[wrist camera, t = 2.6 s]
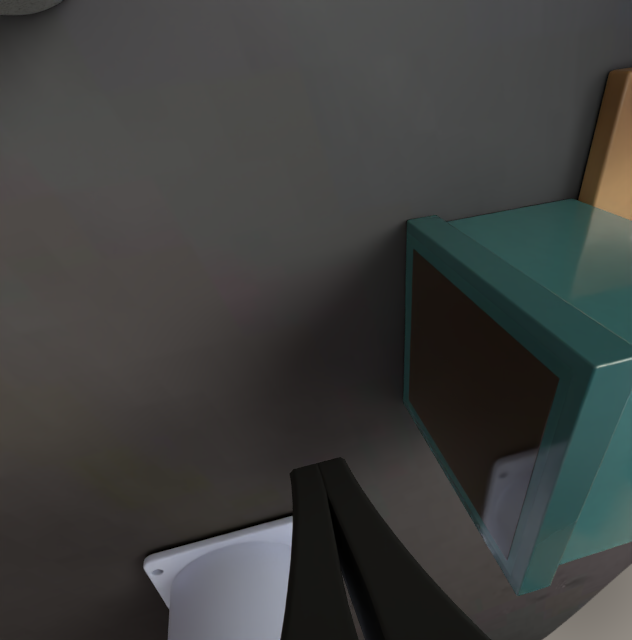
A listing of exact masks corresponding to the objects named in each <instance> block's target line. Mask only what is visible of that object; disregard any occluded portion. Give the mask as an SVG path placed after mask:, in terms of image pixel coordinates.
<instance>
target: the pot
mask: <svg viewBox="0 0 632 640" xmlns="http://www.w3.org/2000/svg"><path fill="white" fill-rule="evenodd" d="M403 403H404V405H405V407H406V408H407V410H408V412H409V413H410V415H411V417H412V419H413V420H414V422H415V424H416V425H417V427H418V429H419V430H420V432H421V434H422V436H423V437H424V439H425V441H426V442H427V444H428V446H429V447H430V449H431V451H432V453H433V454H434V456H435V458H436V459H437V461H438V463H439V464H440V466H441V468H442V470H443V471H444V473H445V475H446V476H447V478H448V480H449V481H450V483H451V485H452V487H453V488H454V490H455V492H456V493H457V495H458V497H459V498H460V500H461V502H462V504H463V505H464V507H465V509H466V510H467V512H468V514H469V515H470V517H471V519H472V521H473V522H474V524H475V526H476V527H477V529H478V531H479V532H480V534H481V536H482V537H483V539H484V541H485V543H486V544H487V546H488V548H489V549H490V551H491V553H492V554H493V556H494V558H495V560H496V561H497V563H498V565H499V566H500V568H501V570H502V571H503V573H504V575H505V577H506V578H507V580H508V582H509V583H510V585H511V587H512V588H513V590H514V592H515V594H516V595H517V596H520V595H523V594H526V593H529V592H532V591H535V590H538V589H541V588H544V587H547V586H550V584H551V582H552V580H553V577H554V575H555V573H556V570H557V568H558V565H560V564H564V563H567V562H570V561H573V560H576V559H579V558H582V557H585V556H588V555H592V554H595V553H598V552H601V551H604V550H607V549H610V548H613V547H617V546H620V545H623V544H626V543H629V542H632V220H629V219H626V218H624V217H621V216H618V215H616V214H613V213H610V212H608V211H605V210H602V209H600V208H597V207H594V206H592V205H589V204H586V203H584V202H581V201H578V200H576V199H573V198H572V199H566V200H561V201H556V202H550V203H545V204H539V205H534V206H529V207H523V208H518V209H513V210H507V211H502V212H496V213H491V214H486V215H480V216H475V217H469V218H464V219H459V220H453V221H448V222H446V221H444V220H443V219H441V218H440V217H438V216H437V215H433V216H428V217H422V218H417V219H411V220H407V241H406V290H405V338H404V387H403Z"/></svg>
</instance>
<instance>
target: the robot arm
mask: <svg viewBox="0 0 632 640" xmlns="http://www.w3.org/2000/svg"><path fill="white" fill-rule="evenodd" d="M290 478H291V485H292V499H293V516H289V517H285V518H282V519H278V520H274V521H271V522H267V523H263V524H260V525H256V526H253V527H249V528H245V529H242V530H238V531H234V532H231V533H227V534H223V535H220V536H216V537H212V538H209V539H205V540H202V541H198V542H194V543H191V544H187V545H183V546H180V547H176V548H172V549H169V550H165V551H162V552H158V553H154V554H151V555H149V556H147V557H146V558H145V560H144V565H143V568H144V570H145V572H146V573H147V575H148V577H149V578H150V580H151V581H152V583H153V585H154V586H155V588H156V589H157V591H158V592H159V594H160V596H161V597H162V599H163V600H164V602H165V604H166V605H167V607H168V608H169V627H168V640H358V636H357V633H356V629H355V626H354V622H353V619H352V615H351V612H350V608H349V605H348V601H347V596H346V592H345V588H344V583H343V578H344V581H345V584H346V586H347V589H348V592H349V595H350V598H351V601H352V604H353V606H354V609H355V612H356V615H357V618H358V621H359V623H360V626H361V629H362V632H363V635H364V638H365V640H491V639H490V638H489V637H488V636H487V635H486V634H484V633H483V632H482V631H481V630H480V629H479V628H478V627H477V626H476V625H475V624H474V622H473V621H472V620H471V619H470V618H469V617H468V616H467V615H466V614H465V613H464V612H463V611H462V610H461V609H460V608H459V607H458V606H457V605H456V604H455V603H454V602H453V601H452V600H451V599H450V598H449V597H448V596H447V595H446V594H445V593H444V591H443V590H442V589H441V588H440V587H439V586H438V585H437V584H436V583H435V582H434V580H433V579H432V578H431V577H430V576H429V575H428V574H427V573H426V571H425V570H424V569H423V568H422V567H421V566H420V564H419V563H418V562H417V561H416V560H415V559H414V557H413V556H412V555H411V554H410V553H409V551H408V550H407V549H406V548H405V547H404V545H403V544H402V543H401V542H400V540H399V539H398V538H397V537H396V535H395V534H394V533H393V531H392V530H391V529H390V527H389V526H388V525H387V523H386V522H385V521H384V520H383V518H382V517H381V516H380V514H379V513H378V511H377V510H376V509H375V507H374V506H373V504H372V503H371V502H370V500H369V499H368V497H367V496H366V494H365V493H364V491H363V490H362V488H361V487H360V485H359V484H358V482H357V480H356V479H355V477H354V475H353V474H352V472H351V470H350V468H349V467H348V465H347V463H346V461H345V459H343V458H341V457H339V458H335V459H331V460H328V461H324V462H320V463H316V464H312V465H308V466H304V467H301V468H297V469H293V470H292V472H291V473H290ZM341 572H342V573H341ZM342 575H343V578H342Z"/></svg>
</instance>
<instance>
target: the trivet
mask: <svg viewBox="0 0 632 640" xmlns="http://www.w3.org/2000/svg"><path fill="white" fill-rule="evenodd" d="M578 201H581V202H584V203H586V204H589V205H592V206H594V207H597V208H600V209H602V210H605V211H608V212H610V213H613V214H616V215H618V216H621V217H624V218H626V219H629V220H632V67H631V68H624V69H617V70H613V71H611V72H610V73H609V76H608V80H607V84H606V88H605V92H604V96H603V100H602V104H601V108H600V112H599V116H598V121H597V125H596V129H595V133H594V137H593V141H592V145H591V149H590V153H589V157H588V162H587V166H586V170H585V174H584V178H583V182H582V186H581V190H580V194H579V198H578Z"/></svg>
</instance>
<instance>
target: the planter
mask: <svg viewBox="0 0 632 640" xmlns="http://www.w3.org/2000/svg"><path fill="white" fill-rule="evenodd" d="M62 1H63V0H0V15H28V14H33V13H37V12H41V11H44V10H47V9H49V8H51V7H53V6H55V5H57V4H59V3H60V2H62Z"/></svg>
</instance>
